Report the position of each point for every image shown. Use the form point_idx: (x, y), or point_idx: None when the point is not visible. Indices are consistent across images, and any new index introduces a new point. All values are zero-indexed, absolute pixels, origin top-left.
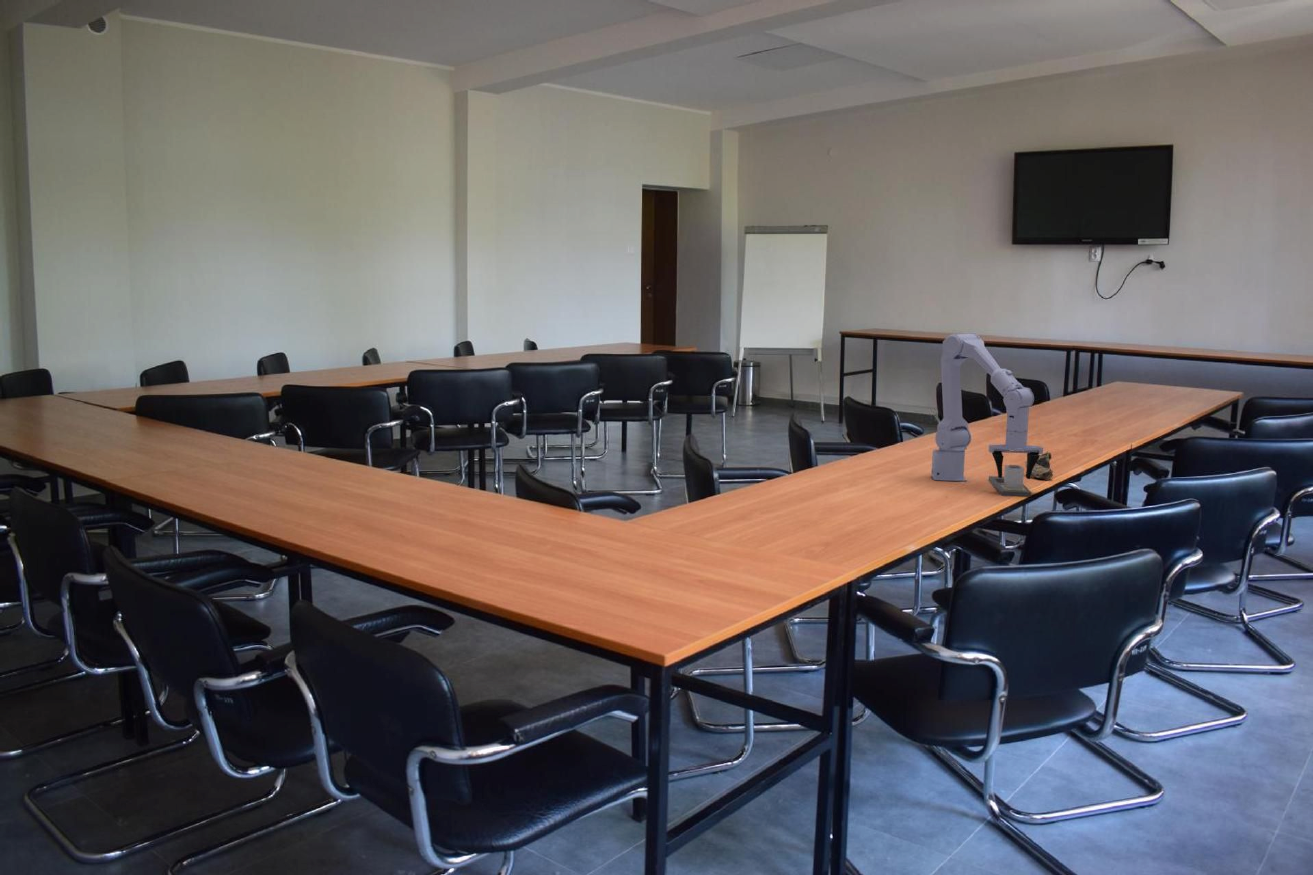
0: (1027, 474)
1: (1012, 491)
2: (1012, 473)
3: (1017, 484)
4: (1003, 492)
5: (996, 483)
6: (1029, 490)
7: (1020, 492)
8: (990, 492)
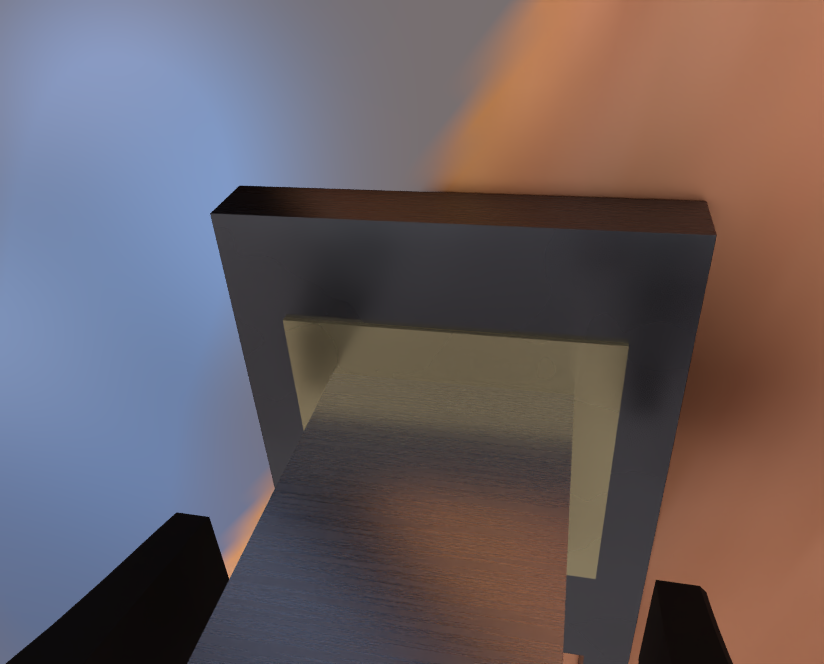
0: (178, 594)
1: (512, 247)
2: (452, 610)
3: (391, 432)
4: (680, 227)
5: (610, 661)
6: (241, 341)
7: (382, 218)
8: (807, 402)
